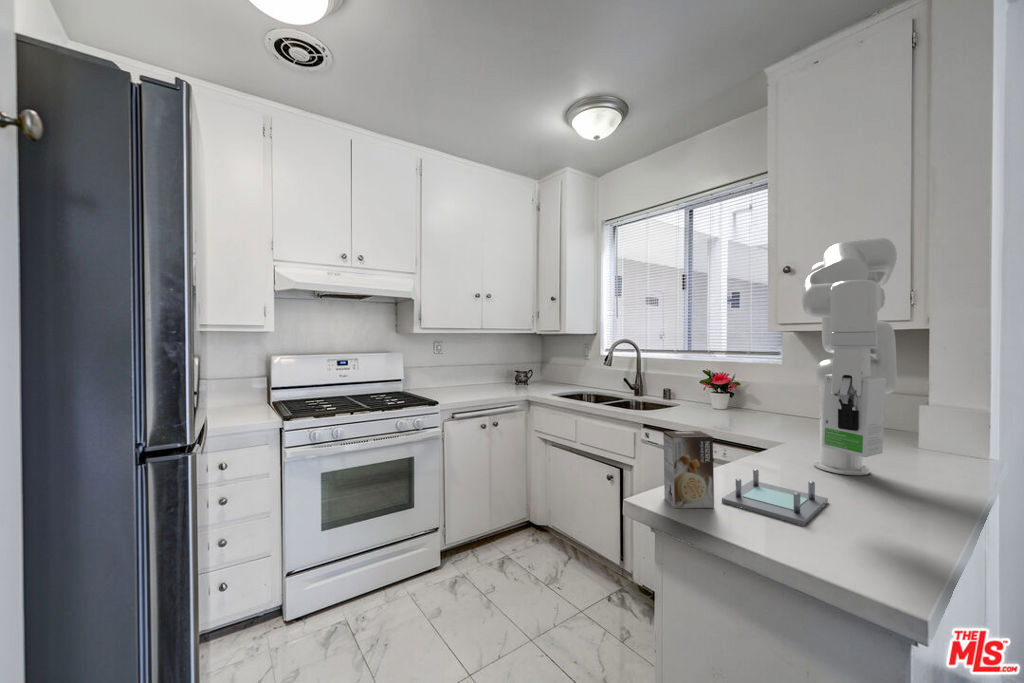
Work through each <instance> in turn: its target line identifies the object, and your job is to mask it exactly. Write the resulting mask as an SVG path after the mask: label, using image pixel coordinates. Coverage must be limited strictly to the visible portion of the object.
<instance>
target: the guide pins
mask: <svg viewBox="0 0 1024 683" xmlns="http://www.w3.org/2000/svg"><path fill="white" fill-rule="evenodd" d="M759 471H760V470H759V469H755V468H753V469H752V480H753V486H755V487H757V486H758V487H759V482H760V480H759V479H760V478H759V475H760V474H759ZM807 483H808V486H807V490H808V499H809V500H812V501H815V495H816V482H815V481H812V480H809V481H808V482H807ZM741 487H742V479H741V478H735V490H736V497H738V498H741ZM794 513H796V514H800V494H799V493H794Z"/></svg>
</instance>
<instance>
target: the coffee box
mask: <svg viewBox="0 0 1024 683" xmlns="http://www.w3.org/2000/svg"><path fill="white" fill-rule="evenodd" d="M662 434H663V436H662V438H663V482H664V483H663V484H664V487H663V488H664V492H663V494H664V497H663V498H664V499H665V500H666V501H667V502H668V503H669V504H670V505H671V506H672V507H673V509H701V508H702V509H703V508H706V509H708V508H709V509H711V508H712V509H713V508H715V486H714V484H715V481H714V480H715V479H714V476H715V475H714V439H713V436H712V435H709V434H708V433H705V432H703V431H701V430H689V431H688V430H685V431H684V430H681V431H679V430H678V431H677V430H675V431H671V430H670V431H669V430H668V431H667V430H666V431H663V433H662Z"/></svg>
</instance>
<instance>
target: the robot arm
mask: <svg viewBox="0 0 1024 683" xmlns="http://www.w3.org/2000/svg"><path fill="white" fill-rule="evenodd" d="M897 254H898V252H897V248H896V246H895V244H894V242H892V240H890V239H888V238H885V237H876V238H869V239H868V238H867V239H860V240H858V239H857V240H850V241H848V240H847V241H842V242H838V243H835V244H833V245H832V246H829V247H828V248H827V249H826V250H825V252H824V254H823V256H822V258H823V259H822V261H821V262H818V263H816V264H814V265H813V266H812V268H811V269H810V275H808V276H807V278H805V281H804V283H803V287H802V296H801V300H802V301H801V302H802V303H801V304H802V309H803V311H804V312H805V314H806V315H807V316H809V317H813V318H821V342H822V343H821V344H822V347H823V349H824V351H825V352H827V353H829V354H832V355H833V358H828V359H824V360H821V361H820V362H819V363H818V364H817V366H816V368H815V374H816V375H815V376H816V382H817V383H816V384H817V387H818V396H819V458H816V459H814V460H812V461H813V462H812V464H813V466H814V467H815V468H816V469H820V470H823V471H826V472H830V473H834V474H840V475H846V476H866V475H869V474H870V470H871V469H870V468H869V467H868V466H867V465H864V464H863V457H861V456H858V455H854V454H850V453H846V452H843V451H838V450H835V449H831V448H827V447H823V446H822V435H823V411H824V386H825V375H829V374H832V384H831V393H832V395H834V396H837V395H836V394H838V393H840V397H839V404H838V428H839V429H845V430H852V431H858V430H859V411H857V397H858V398H859V397H861V396H862V388H863V379H865V378H868V377H870V376H871V377H880V378H886V391H885V395H888V394H892V393H893V392H895V390H896V389H897V388H896V387H897V384H898V371H897V370H898V369H897V368H898V367H897V366H898V365H897V347H896V346H897V345H896V344H897V343H896V334H895V330H894V327H893V326H892V325H891V324H890V323H889V322H886V321H883V320H878V312H879V311H880V310H881V309H882V308H884V306H885V302H886V296H885V295H886V294H885V290H884V288H883V286H884V285H886V284H887V283H888V282H889V281H890V278H891V276H892V273H893V271H894V269H895V266H896V264H897V259H898V258H897V256H898V255H897ZM871 357H872V358H873V359H872V358H871ZM851 384H852V385H851ZM852 387H853V388H854V390H855V395H851V394H849V392H850V391H851V390H852ZM839 390H840V392H839ZM856 390H857V391H856ZM852 399H853V400H852ZM852 401H853V403H852Z"/></svg>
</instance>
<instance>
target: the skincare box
mask: <svg viewBox="0 0 1024 683" xmlns="http://www.w3.org/2000/svg"><path fill="white" fill-rule="evenodd" d="M831 384H832V374H829V375H825V386H824V411H823V435H822V446H823V447H827V448H831V449H835V450H838V451H843V452H846V453H850V454H854V455H858V456H861V457H862V458H868V457H873V456H875V455H881V454H883V451H884V450H883V448H884V430H885V427H884V426H885V413H886V412H885V409H886V394H885V391H886V378H880V377H871V376H870V377H868V378H865V379H863V388H862V396H861V397H859V398H858V397H857V411H859V430H858V431H852V430H845V429H839V428H838V404H839V397H840V393H838V394H836V395H837V396H834V395H832V393H831ZM851 385H852V384H851ZM856 391H857V390H856ZM839 392H840V390H839ZM849 394H851V395H855V390H854V388H853V387H852V390H851V391H850V392H849ZM852 400H853V399H852ZM852 403H853V401H852Z"/></svg>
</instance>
